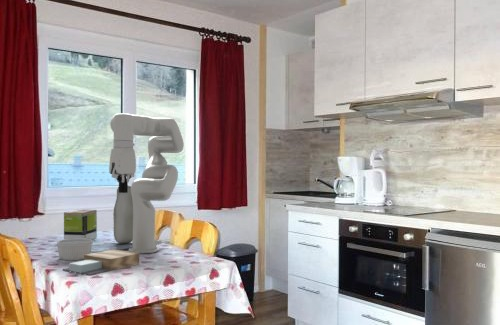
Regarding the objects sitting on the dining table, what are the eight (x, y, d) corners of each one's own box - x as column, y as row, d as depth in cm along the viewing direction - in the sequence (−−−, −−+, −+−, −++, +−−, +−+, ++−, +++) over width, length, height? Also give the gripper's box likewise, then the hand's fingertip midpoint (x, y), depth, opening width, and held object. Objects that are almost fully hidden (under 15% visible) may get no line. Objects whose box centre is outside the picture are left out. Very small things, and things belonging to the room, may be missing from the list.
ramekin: (81, 253, 191) (81, 237, 191) (99, 258, 182) (99, 240, 182) (50, 258, 180) (51, 240, 180) (67, 262, 172) (68, 244, 172)
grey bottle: (125, 241, 224) (126, 184, 225) (139, 243, 218) (140, 185, 219) (108, 243, 216) (109, 184, 217) (122, 246, 210) (124, 185, 211)
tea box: (78, 237, 234) (79, 208, 234) (97, 238, 233) (97, 209, 233) (62, 242, 219) (63, 211, 219) (82, 243, 218) (83, 212, 218)
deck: (113, 259, 179) (113, 249, 179) (139, 263, 172) (139, 253, 172) (83, 265, 167) (84, 254, 167) (110, 270, 160) (110, 259, 160)
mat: (83, 265, 167) (83, 264, 167) (110, 270, 160) (110, 269, 160) (62, 270, 159) (62, 269, 159) (89, 275, 152) (89, 274, 152)
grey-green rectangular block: (90, 266, 165) (90, 259, 165) (101, 268, 162) (102, 261, 162) (69, 270, 157) (69, 263, 157) (80, 272, 154) (80, 265, 154)
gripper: (130, 146, 185) (130, 191, 185) (101, 144, 172) (101, 193, 172) (144, 146, 181) (143, 192, 181) (115, 144, 168) (115, 194, 168)
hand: (123, 192), depth 177 cm, fingers closed
